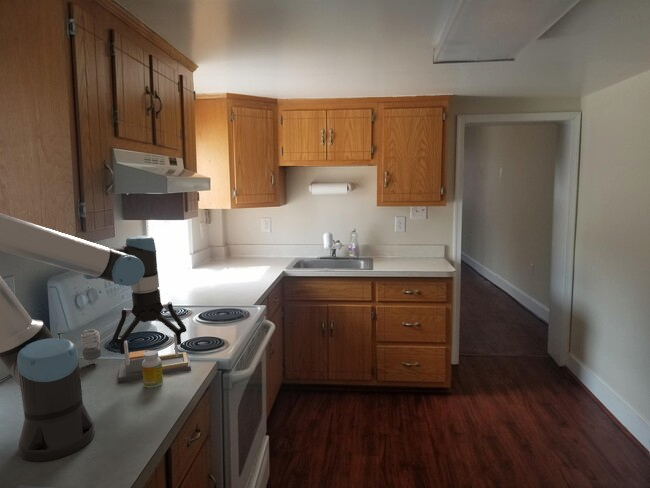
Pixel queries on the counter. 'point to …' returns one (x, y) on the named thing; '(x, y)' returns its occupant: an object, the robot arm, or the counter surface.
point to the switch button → (136, 354)
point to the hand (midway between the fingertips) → (152, 359)
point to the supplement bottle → (152, 370)
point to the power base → (168, 366)
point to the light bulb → (93, 351)
